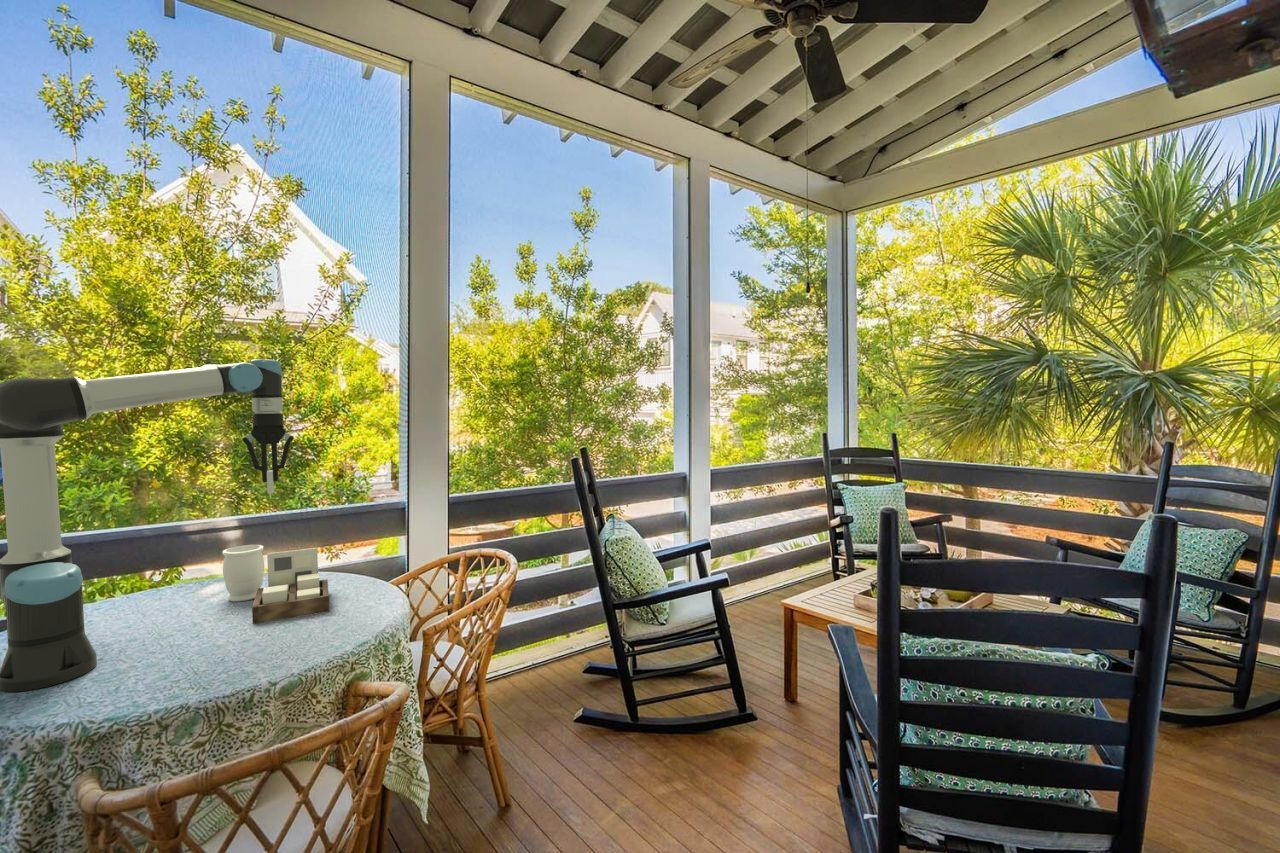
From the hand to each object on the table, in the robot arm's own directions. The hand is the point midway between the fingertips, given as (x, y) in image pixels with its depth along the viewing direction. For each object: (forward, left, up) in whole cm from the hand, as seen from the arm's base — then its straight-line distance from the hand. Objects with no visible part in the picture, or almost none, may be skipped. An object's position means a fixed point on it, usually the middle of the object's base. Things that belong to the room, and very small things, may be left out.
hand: (270, 492), depth 170 cm
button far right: (+9, -4, -29) cm, 31 cm away
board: (+5, -8, -32) cm, 34 cm away
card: (+5, +3, -32) cm, 33 cm away
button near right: (+9, -12, -31) cm, 35 cm away
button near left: (+1, -12, -29) cm, 32 cm away
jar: (-8, +9, -33) cm, 35 cm away
